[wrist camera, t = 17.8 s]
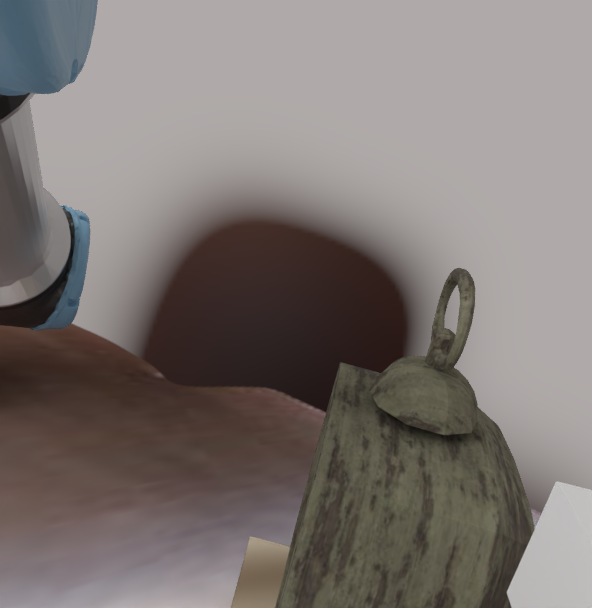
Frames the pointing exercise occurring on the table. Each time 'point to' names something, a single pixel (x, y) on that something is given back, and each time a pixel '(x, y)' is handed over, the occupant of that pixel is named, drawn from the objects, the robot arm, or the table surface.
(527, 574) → the robot arm
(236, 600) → the maple base
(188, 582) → the table surface
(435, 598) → the tabletop clock
